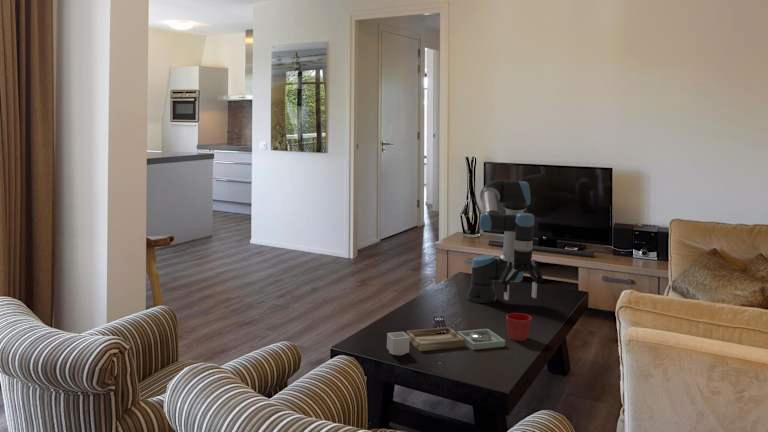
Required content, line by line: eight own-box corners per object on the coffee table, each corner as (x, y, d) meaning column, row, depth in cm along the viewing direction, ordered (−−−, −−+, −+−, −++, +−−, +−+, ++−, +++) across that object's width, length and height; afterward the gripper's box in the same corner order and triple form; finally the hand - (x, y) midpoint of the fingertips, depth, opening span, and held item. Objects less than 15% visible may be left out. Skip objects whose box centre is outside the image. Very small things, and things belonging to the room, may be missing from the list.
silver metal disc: (466, 334, 254) (466, 332, 254) (485, 332, 256) (485, 330, 256) (476, 341, 245) (476, 340, 245) (495, 339, 248) (495, 338, 248)
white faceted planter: (386, 349, 239) (387, 333, 238) (402, 348, 242) (403, 331, 241) (392, 356, 233) (392, 339, 232) (409, 354, 235) (409, 337, 234)
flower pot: (501, 333, 262) (503, 312, 260) (525, 333, 263) (527, 312, 261) (508, 342, 251) (510, 320, 250) (533, 342, 252) (535, 320, 251)
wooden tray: (406, 337, 254) (406, 330, 253) (448, 333, 260) (448, 327, 260) (420, 351, 239) (420, 344, 238) (464, 346, 245) (465, 339, 245)
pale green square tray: (456, 337, 256) (456, 331, 255) (487, 334, 261) (487, 328, 260) (472, 349, 242) (472, 343, 241) (504, 346, 247) (505, 340, 246)
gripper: (501, 252, 243) (498, 302, 247) (553, 250, 251) (550, 298, 254) (492, 249, 250) (490, 297, 254) (543, 247, 258) (540, 294, 262)
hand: (520, 298), depth 254 cm, fingers open, 13 cm apart
